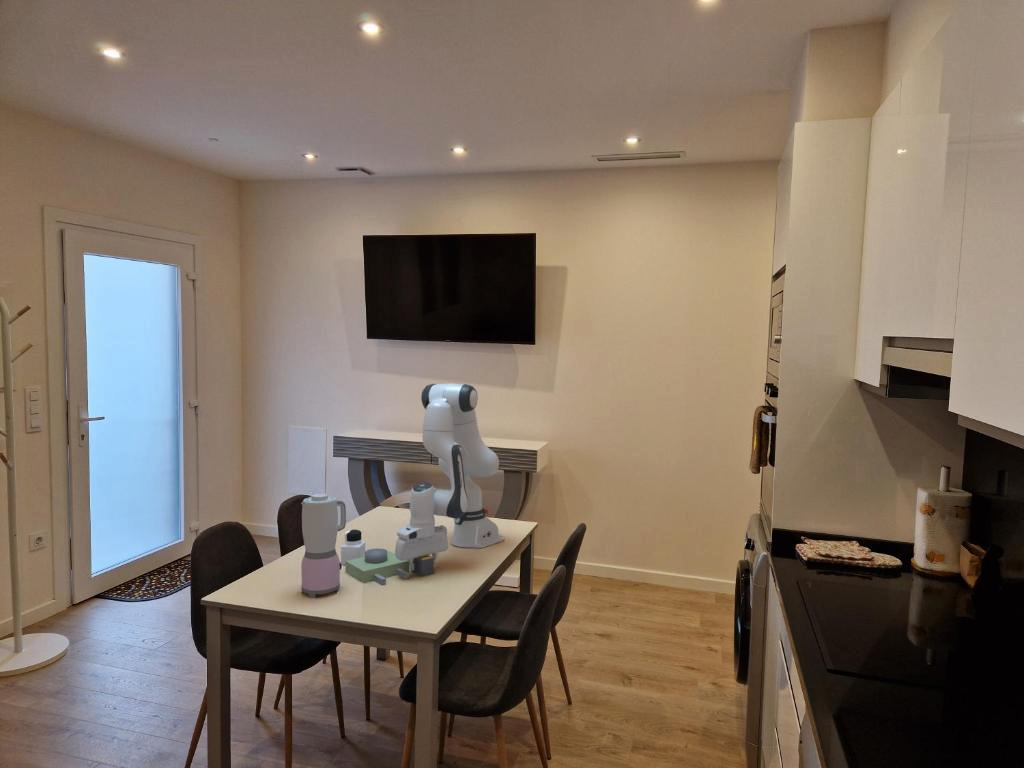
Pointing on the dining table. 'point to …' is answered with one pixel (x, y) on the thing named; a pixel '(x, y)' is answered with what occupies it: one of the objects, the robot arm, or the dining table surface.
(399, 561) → the green piece
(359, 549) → the medicine bottle
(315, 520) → the blender
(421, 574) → the grey block yellow strip
